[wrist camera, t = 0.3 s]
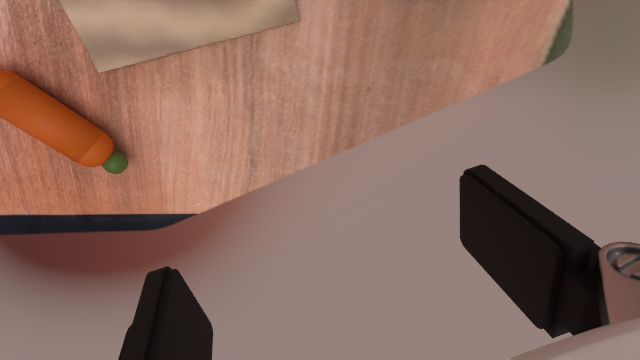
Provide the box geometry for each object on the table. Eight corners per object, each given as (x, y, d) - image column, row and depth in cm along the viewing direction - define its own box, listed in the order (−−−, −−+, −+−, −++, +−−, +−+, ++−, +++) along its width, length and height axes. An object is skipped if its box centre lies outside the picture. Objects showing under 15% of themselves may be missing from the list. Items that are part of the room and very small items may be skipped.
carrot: (-19, 86, 32) (-48, 99, 29) (4, 56, 32) (-24, 65, 28) (119, 172, 39) (108, 190, 36) (141, 148, 38) (132, 165, 35)
